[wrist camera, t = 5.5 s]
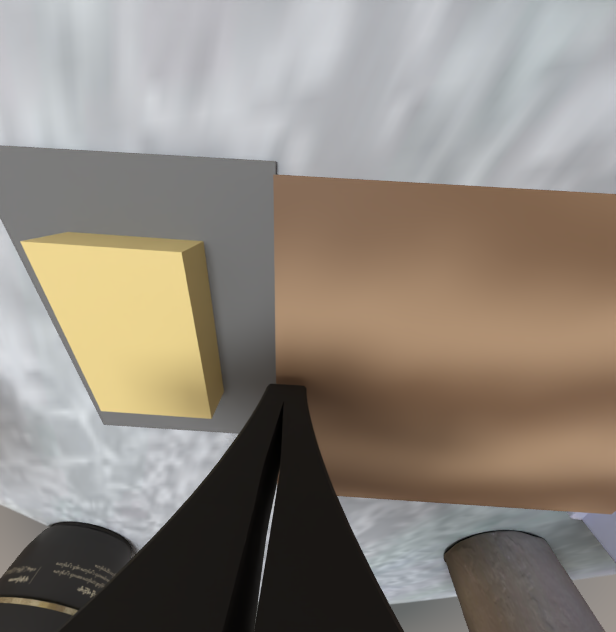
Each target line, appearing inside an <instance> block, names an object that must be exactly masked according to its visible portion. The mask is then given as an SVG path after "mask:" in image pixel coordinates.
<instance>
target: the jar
mask: <svg viewBox="0 0 616 632" xmlns="http://www.w3.org/2000/svg"><path fill="white" fill-rule="evenodd" d="M130 559H131V546H130V544H129V543H128V542H127V541H126V540H125V539H124V538H123V537H121V536H120V535H118V534H116V533H114V532H112V531H110V530H107V529H105V528H102V527H99V526H95V525H91V524H85V523H78V522H63V523H58V524H55V525H53V526H51V527H50V528H47V529H46V530H44V531H43V532H42V533H41V534H40V535H38V536H37V537H36V538H35V539H34V540H33V541H32V542H31V543H30V544H29V545H28V546H27V547H26V548H25V549H24V550H23V551H22V552H21V554H20V555H19V556H18V557H17V558H16V560H15V561H14V562H13V563H12V565H11V566H10V567H9V568H8V570H7V571H6V572H5V573H4V575H3V576H2V577H1V578H0V632H56V631H57V630H58V629H59V628H60V627H61V626H62V625H63V624H64V623H65V622H66V621H67V620H69V619H70V618H71V617H72V616H73V615H74V614H75V613H76V612H77V611H78V610H79V609H80V608H81V607H83V606H84V605H85V604H86V603H87V602H88V601H89V600H90V599H91V598H92V597H93V596H94V595H95V594H96V593H97V592H98V591H100V590H101V589H102V588H103V587H104V586H105V585H106V584H107V583H108V582H109V581H110V580H111V579H112V578H113V577H114V576H115V575H116V574H117V573H118V572H119V571H120V570H121V569H122V568H123V567H124V566H125V565H126V564H127V563H128V562H129V561H130Z"/></svg>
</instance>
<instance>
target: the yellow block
mask: <svg viewBox="0 0 616 632" xmlns="http://www.w3.org/2000/svg"><path fill="white" fill-rule="evenodd" d="M20 242H21V244H22V246H23V249H24V251H25V253H26V255H27V257H28V259H29V261H30V263H31V265H32V267H33V269H34V272H35V274H36V276H37V278H38V280H39V282H40V284H41V286H42V288H43V290H44V292H45V295H46V297H47V299H48V301H49V303H50V305H51V307H52V309H53V311H54V313H55V316H56V318H57V320H58V322H59V324H60V326H61V328H62V330H63V332H64V334H65V336H66V339H67V341H68V343H69V345H70V347H71V349H72V351H73V353H74V355H75V357H76V359H77V362H78V364H79V366H80V368H81V370H82V372H83V374H84V376H85V378H86V380H87V382H88V385H89V387H90V389H91V391H92V393H93V395H94V397H95V399H96V401H97V403H98V405H99V408H100V410H101V411H107V412H121V413H135V414H149V415H163V416H177V417H192V418H206V419H212V417H213V415H214V413H215V410H216V408H217V406H218V404H219V401H220V399H221V397H222V395H223V393H224V388H223V381H222V374H221V366H220V359H219V352H218V344H217V337H216V330H215V323H214V315H213V308H212V301H211V293H210V286H209V279H208V271H207V264H206V257H205V249H204V242H203V241H193V240H179V239H164V238H149V237H135V236H120V235H105V234H91V233H76V232H65V233H60V234H55V235H50V236H45V237H40V238H35V239H30V240H25V241H20Z"/></svg>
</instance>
